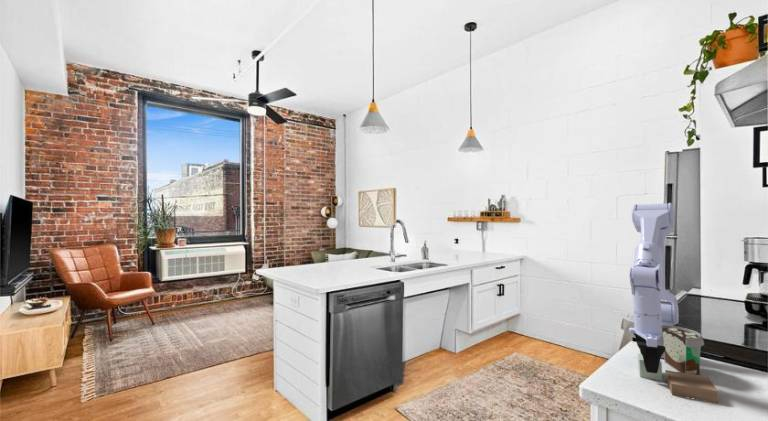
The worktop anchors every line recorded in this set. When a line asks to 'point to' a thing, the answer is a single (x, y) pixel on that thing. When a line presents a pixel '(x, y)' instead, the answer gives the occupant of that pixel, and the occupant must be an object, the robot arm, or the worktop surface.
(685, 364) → the food container
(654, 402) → the worktop surface
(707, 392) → the walnut block
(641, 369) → the sage cube
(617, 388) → the worktop surface
